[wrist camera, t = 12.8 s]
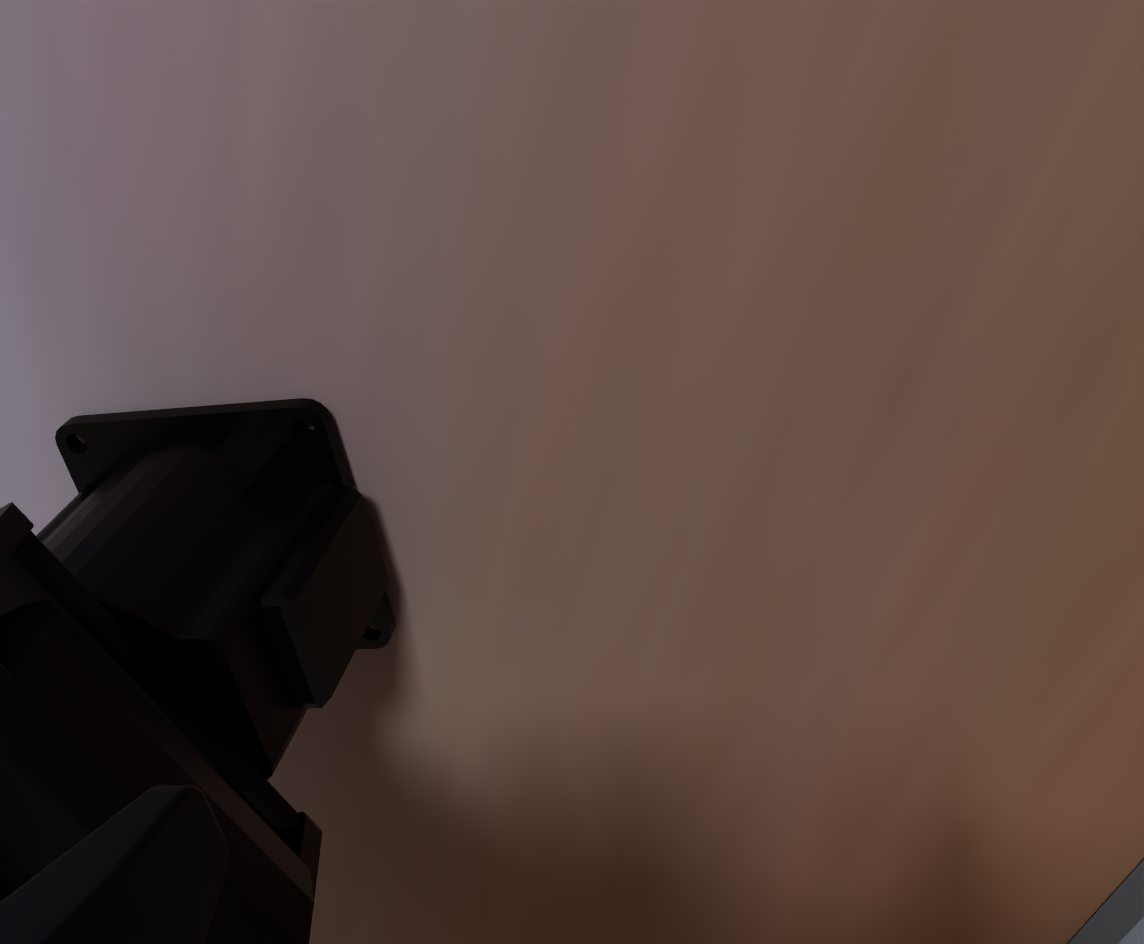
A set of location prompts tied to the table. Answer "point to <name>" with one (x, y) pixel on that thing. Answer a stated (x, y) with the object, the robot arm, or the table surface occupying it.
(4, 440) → the table surface
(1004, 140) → the table surface
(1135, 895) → the dock
